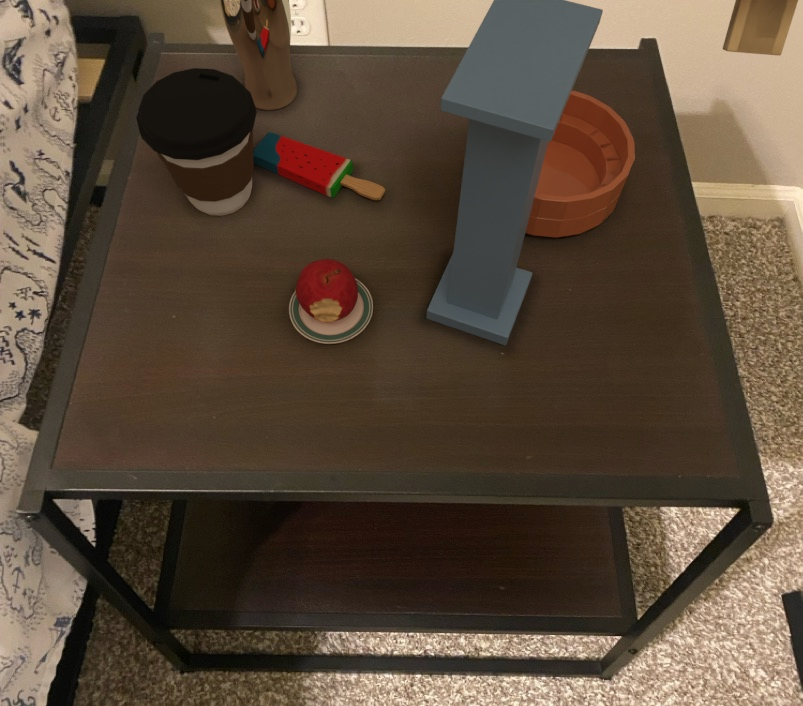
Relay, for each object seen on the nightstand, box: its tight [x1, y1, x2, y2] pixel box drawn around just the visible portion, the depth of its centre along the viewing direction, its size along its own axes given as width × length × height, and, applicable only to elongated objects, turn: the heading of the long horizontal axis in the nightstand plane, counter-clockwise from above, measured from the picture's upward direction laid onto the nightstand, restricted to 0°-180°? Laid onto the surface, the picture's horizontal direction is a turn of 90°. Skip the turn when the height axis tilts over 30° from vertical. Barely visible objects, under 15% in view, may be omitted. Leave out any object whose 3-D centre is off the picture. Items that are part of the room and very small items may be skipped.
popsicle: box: [253, 131, 386, 201], centre depth 76 cm, size 5×2×15 cm
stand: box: [425, 0, 604, 346], centre depth 57 cm, size 12×8×28 cm, turn 158°
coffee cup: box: [135, 67, 258, 217], centre depth 70 cm, size 11×11×12 cm
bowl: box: [525, 89, 636, 239], centre depth 74 cm, size 16×16×6 cm
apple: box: [288, 258, 374, 345], centre depth 65 cm, size 8×8×6 cm
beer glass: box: [219, 0, 298, 111], centre depth 76 cm, size 7×7×15 cm
